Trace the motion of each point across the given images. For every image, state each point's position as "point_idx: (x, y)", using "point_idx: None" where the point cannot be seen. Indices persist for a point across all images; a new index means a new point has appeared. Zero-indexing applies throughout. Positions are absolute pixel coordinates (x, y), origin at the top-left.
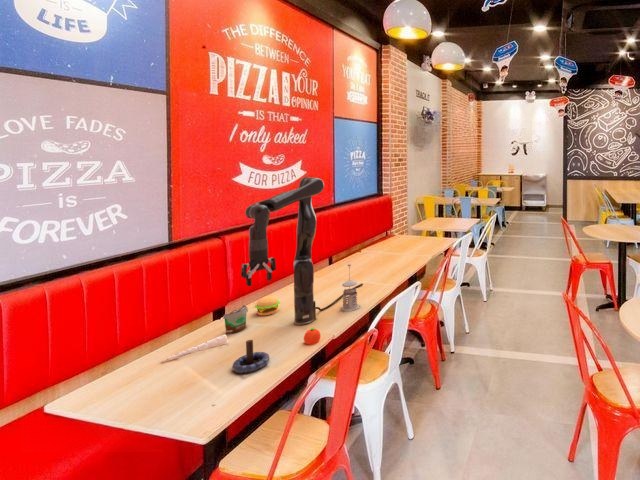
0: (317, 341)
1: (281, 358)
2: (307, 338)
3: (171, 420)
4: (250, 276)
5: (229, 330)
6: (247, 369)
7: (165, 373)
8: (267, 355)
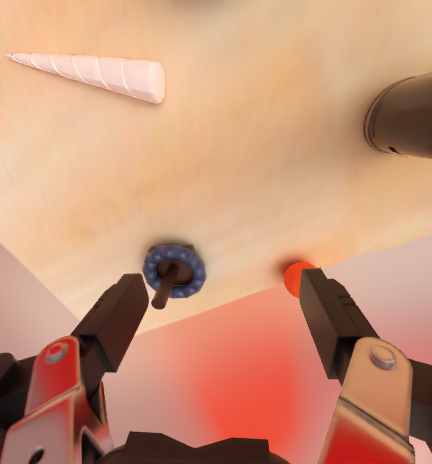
0: None
1: (229, 271)
2: (287, 288)
3: (72, 300)
4: (95, 399)
5: None
6: None
7: (36, 142)
8: (200, 285)
